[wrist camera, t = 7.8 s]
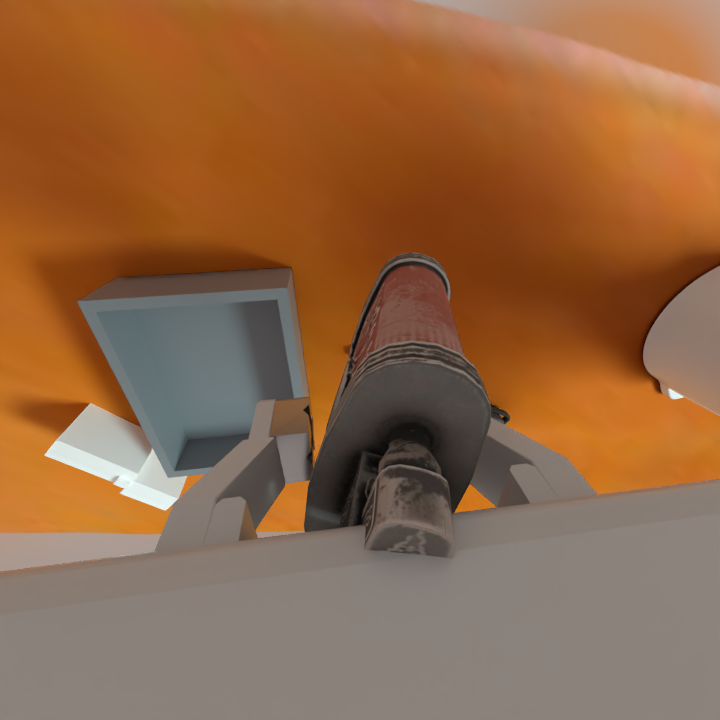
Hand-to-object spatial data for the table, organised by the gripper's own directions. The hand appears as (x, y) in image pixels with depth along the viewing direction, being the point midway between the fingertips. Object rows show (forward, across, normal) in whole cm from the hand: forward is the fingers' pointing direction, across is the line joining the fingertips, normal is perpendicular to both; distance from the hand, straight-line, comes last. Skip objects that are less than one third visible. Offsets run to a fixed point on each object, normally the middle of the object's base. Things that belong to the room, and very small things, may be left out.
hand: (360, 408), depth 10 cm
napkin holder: (+20, +21, +19) cm, 35 cm away
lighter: (+4, -2, 0) cm, 5 cm away
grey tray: (+20, +10, +10) cm, 24 cm away
